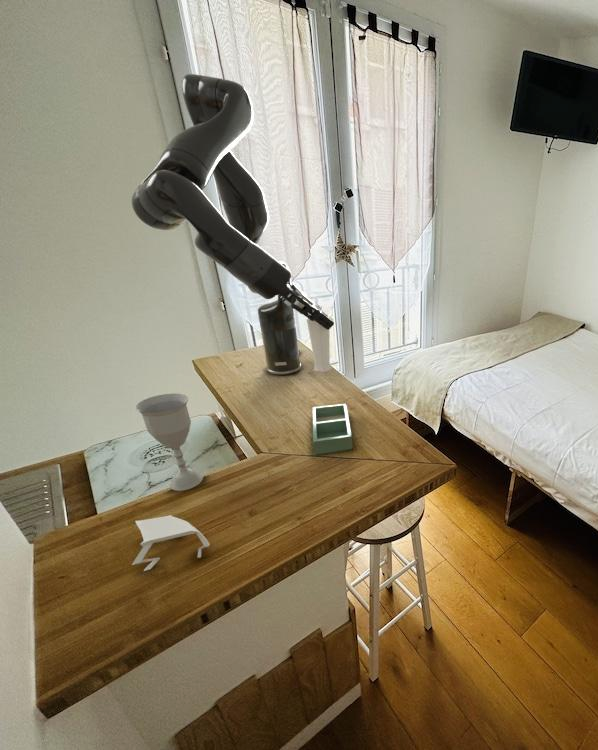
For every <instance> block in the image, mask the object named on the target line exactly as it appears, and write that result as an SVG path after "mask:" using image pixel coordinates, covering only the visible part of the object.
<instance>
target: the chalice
mask: <svg viewBox="0 0 598 750" xmlns="http://www.w3.org/2000/svg"><path fill="white" fill-rule="evenodd" d="M188 402H189V397H188V396H187V395H185V394H183V393H164V394H158V395H154V396H150V397H148V398H145V399H142V400H141V401H140V402H138V403H137V404H136V405H135V410H136V411H137V412H138V413H140V414H141V416H142V420H143V422H144V425H145V428H146V431H147V433H149V435H150V436H152V438H154V439H155V440H156V441H157V442H158V443H160V444H161V445H162V446H164V447H165V448H167V449H173V454H172V457H174V458H175V459H176V461H175V462H174V464H175V465H176V466H178V470H177V471H176V472H175V473H174V474H173V476H172V480H171V483H170V489H171V490H174V491H175V492H176V491H179V492H182V491H187V490H191V489H193V488H194V487H195V488H196V487H197V486H199V484H201V482H202V481H203V479H204V477H203V475H202V474H201V473H200V472H199V471H197V470H196V469H195V468H192V467H187V466H186V464H187V462H188V460H187V459H186V458H184V454H185V452H184V451H183V450H182V449H181V446H183V445H184V444H185V443H186V441H187V438H188V435H189V433H190V429H191V425H192V421H191V417H190V413H189V410H188V406H187V405H188Z"/></svg>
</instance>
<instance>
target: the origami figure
mask: <svg viewBox="0 0 598 750" xmlns="http://www.w3.org/2000/svg"><path fill="white" fill-rule="evenodd" d="M135 524H136V526H137V528H138V529H139V531H140V534H141V536H142V539H143V541H141V543H139V546H141V550H140V551H139V553H138V554H137V556H136V557H135V559H134V560H133V562H132V564H131V566H134V565H139V564H144V563H149V562H150V563H149V564H148V565H147V566H146V567H145V568H144V569H143V572H145V571H146V572H147V571H149V570H151V569H152V568H153V567H154V566H155V565H156V564H157V563H158V561H159V560H160V559H161V557H153V558H145V557H146V555H147V554H148V552H149V550H150V549H151V547H152V546H153V545H154V544H155V543H160V542H164V541H169V540H172V539H176V538H181V537H184V536H189V535H193V534H196V535H197V537H198V539H199V540H200V542H201V543H202V545H201V546H200V547H198V548H197V557H196V558H199V559H200V558H202V549H203V550H204V549H205V548H208V547H209V546H210V545H211V543H210V542H209V541H208V539H207V538H206V536H204V534H203V533H202V532H201V531H200V530H198V529H197V528H196V527H195V526H194V525H192V524H191V523H190V522H189V521H187V520H185V519H182V518H179V517H176V516H173V515H172V514H169V515H165V516H159V517H153V518H147V519H139V520H135Z"/></svg>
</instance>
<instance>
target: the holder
mask: <svg viewBox="0 0 598 750" xmlns="http://www.w3.org/2000/svg"><path fill="white" fill-rule="evenodd" d="M311 409H312V410H311V415H312V445H313V452H314V455H315V456H317V455H323V454H330V453H335V452H336V453H337V452H342V451H348V450H354V447H353V434H352V429H351V423H350V422H351V421H350V417H349V410H348V405H347V403H339V404H338V403H337V404H330V405H323V406H322V405H321V406H313V407H311Z"/></svg>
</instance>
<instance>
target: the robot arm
mask: <svg viewBox="0 0 598 750" xmlns="http://www.w3.org/2000/svg"><path fill="white" fill-rule="evenodd" d="M181 91H182V96H183V100H184V104H185V108H186V110H187V113H188V115H189V118H190V120H191V123H192V126H189V127H188V128H186V129H184V130H182V131H180V132H179V133H177V134H176V135H175V136H174V137H173V138H172V139H171V140H170V141H169V142H168V144H167V146H166V147H165V149H164V150H163V152H162V153H161V155H160V157H159V160H158V161H157V163H156V165H155V166H154V167H153V169H152V170H151V171H150V172H149V174H148V175H147V176H146V177H145V178H144V179H143V180H142V182H141V183H140V184H139V185H138V187H137V188H136V189H135V191H134V192H133V193H132V197H131V207H132V209H133V212H134V214H135V215H136V217H137V218H138V219H139V220H140V221H141V222H142V223H144V224H145V225H147V226H149V227H151V228H152V229H156V230H159V231H160V230H161V231H170V230H174V229H176V228H178V227H180V226H181V225H183V224H184V223H185V222H186V221H187V222H189V224H190V225H191V226H192V227H193V228H194V229H195V231H196V232H197V234H196V235H195V238H194V246H195V247H196V248H197V249H198V250H199V251H200V252H201V253H202V254H204V255H206V257H208V258H210V259H211V260H212V261H213V262H215V263H217V264H218V265H219V266H221V267H222V268H224V269H225V270H226V271H227V272H228V273H229V274H230V275H231V276H233V277H234V278H235V279H237V280H238V281H239V282H241V283H243V284H244V285H245V286H247V288H248V289H249V291H250V292H251V293H253V294H258V295H259V296H261V297H262V298H263V299H265V300H271V299H273V298H275V297H276V296H277V299H276V300H274V301H272V302H268V303H265V304H262V305H261V306H259V307H258V308H257V315H258V321H259V327H260V333H261V338H262V345H263V350H264V357H265V363H266V370H267V373H269V374H271V375H275V376H285V375H291V374H295V373H298V372H299V371H300V370H301V369H302V364H301V359H300V352H301V350H300V349H299V343H298V335H297V328H296V327H297V326H296V320H295V313H294V311H296V312H297V313H299V314H300V315H303V316H304V317H306V319H308V318H309V319H310V320H311V321H314V320H315V321H316V322H317V323H319V324H320V325H321V326H323V327H324V328H325V329H327V330H329V331H330V329H331V328H332V327H333V326H334V325H335V322H334V320H332V319H331V318H329V315H328V314H327V313H326V312H324V311H323V310H322V312H321V311H320V310H319V309H317V308H316V307H315V306H313V305H316V304H315V302H313V301H312V300H311V299H310V298H309V296H308V295H307V294H306V293H305V292H303V291H302V290H301V289H300V288H299V287H298V286H297V285H295V284H294V283H292V271H291V270H290V268H289V266H288V264H287V263H285V262H284V261H278V260H277V259H276V258H275V257H274V256H272V255H271V254H270V253H268V251H266V250H265V249H263V248H262V247H261V246H260V245H258V244H259V242H260V240H261V238H262V236H263V234H264V233H265V230H266V228H267V227H268V224H269V220H270V215H269V210H268V205H267V202H266V201H267V200H266V198H265V194H264V191H263V188H262V187H261V186H260V184H259V183H258V182H257V180H256V179H255V178H254V176H253V175H252V174H251V173H250V172H249V171H248V170H247V169H246V168H245V167H244V166H243V164H242V163H241V162H240V161H239V159H237V158H236V156H235V155H234V154H233V152H232V150H231V149H232V148H234V147H235V146H236V145H237V144H238V143H239V141H241V139H243V137H245V136H246V134H247V133H249V131H250V130H251V127H252V126H253V121H254V109H253V104H252V100H251V97H250V95H249V93H248V91H247V90H246V89H245V87H244V86H243V85H241V83H238V82H237V81H234V80H230V79H225V78H219V77H213V76H207V75H202V74H195V73H188V74H185V75H184V76H183V78H182V80H181ZM212 176H213V179H214V181H215V184H216V188H217V191H218V194H219V197H220V201H221V204H222V208H223V210H224V213H225V216H226V219H225V217H224V215H223V214H222V213H221V212H220V210H219V209H218V208H217V207H216V206H215V205H214V204H213V203H212V201H211V200H210V198H209V197H208V196H207V195H206V194H205V193H204V192H203V190H204V189H205V188H206V187H207V185H208V183H209V182H210V180H211V178H212ZM312 310H314V312H313V311H312Z"/></svg>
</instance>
